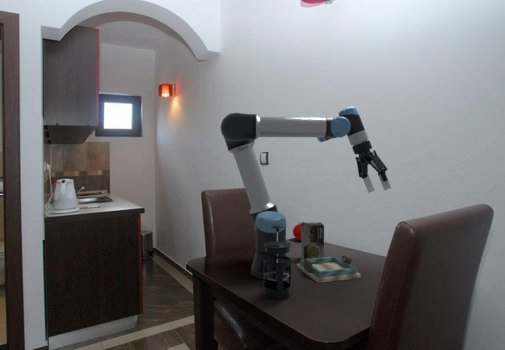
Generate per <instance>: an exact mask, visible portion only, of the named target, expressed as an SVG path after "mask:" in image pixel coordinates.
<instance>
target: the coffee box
mask: <svg viewBox="0 0 505 350" xmlns="http://www.w3.org/2000/svg"><path fill="white" fill-rule="evenodd" d="M300 223H301V241H300V243H301V244H300V245H301V247H300V248H301V253H300V254H301V255H300V257H301V258H300V259H301V260H302V259H313V258H324V257H325V224H324V223H322V222H304V223H302V222H300Z"/></svg>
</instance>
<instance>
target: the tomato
mask: <svg viewBox="0 0 505 350" xmlns="http://www.w3.org/2000/svg"><path fill="white" fill-rule="evenodd" d="M301 223H305V222H304V221H302V222H297V224H295V226H294V227H293V229H292V234H293V237H294V238H295V239H296V240H297V241H300V242H301Z"/></svg>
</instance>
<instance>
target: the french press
mask: <svg viewBox="0 0 505 350" xmlns="http://www.w3.org/2000/svg"><path fill="white" fill-rule="evenodd" d="M271 227H272V228H276V232H277V241H269V242H266V243H264V246H265V251H266V252H267V253H271V254H277V255H270V256H266V257H264V280H263V289H262V290H263V291H262V296H263V295H264V296H263V297H264V298H265V299H267V300H271V299H273V300H272V301H285V300H288V299H290V298H291V296H292V292H291V289H292V288H291V285H292V284H291V277H292V259H291V257H289V256H287V255H286V256H283V255H278V254H285V253H286V254H288V253H290V250H291V249H290V248H291V247H292V244H291V243H290V242H287V241H286V242H283V241H278V232H279V229H280V228H284V227H283V226H281V225H274V226H271ZM270 259H273V263H272V262H268V261H266V260H270ZM278 259H283V260H287V261H288V262H284V263H278ZM265 265H267V266H271V267H273V268H272V272H268V273H266V274H265ZM285 266H289V274H288V273H285V272H283V267H285ZM265 278H266V279H267V280H265Z"/></svg>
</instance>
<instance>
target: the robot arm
mask: <svg viewBox="0 0 505 350" xmlns="http://www.w3.org/2000/svg"><path fill="white" fill-rule="evenodd" d="M220 132H221V135H222V137H223V139H224V142H225V144H226V147H227V150H228V152H229V153H232V155H233V158H234V159H235V163H236V166H237V168H238V171H239V174H240V177H241V181H242V183H243V187H244V189H245V192H246V195H247V197H248V201H249V203H250V206H251V208H250V210H249V215H250V217H251V222H252V224H253V227H254V231H255V255H254V258H253V261H252V264H251V266H250V275H251V276H253V277H254V278H256V279H259V280H263V281H264V257H266V256H270V255H277V254H271V253H267V252H266V251H265V246H264V243H266V242H269V241H277V232H276V228H272V227H271V226H274V225H281V226H283V227H284V228H280V229H279V232H278V241H283V242H287V223H288V222H287V217H286V215H285V214H283V213H282V212H280V211H278V208H277V204H276V203H275V202H273V201H272V200H271V198H270V194H269V192H268V189H267V188H268V187H267V186H266V183H265V180H264V177H263V174H262V171H261V168H260V165H259V162H258V159H257V156H256V153H255V150H254V145H255V142H256V141H257V140H258V139H259V138H316V139H317V140H318V141H319V142H320V143H323V142H327V141H329V140H332V139H337V138H344V137H345V136H347V139H348V141H349V143H350V146H352V147H351V149H352V151H353V154H354V155H357V156H355V161H356V165H357V172H358V178H360V179H363V183H364V185H365V187H366V189H367V190H366V191H367V193H369V194H370V193H373V192H375V188H374V185H373V183H372V180H371V177H370V175H369V173H368V171H369V168H368V167H369V166H371V167H372V168H373V170H375V171H376V172H377V176H378V178H379V181H380V184H381V186H382V188H383V191H387V190H390V189H391V188H392V187H391V184H390V181H389V179H388V177H387V174H386V171H388V167H387V166H386V165H385V164H384V162H383V161H382V159H381V158H380V156H379V155H378V154H377V151H376V150H375V149H373V146H372V144H371V142H370V140H369V136H368V133H367V131H366V129H365V126H364V124H363V121H362V118H361V116H360V114H359V111H358V110H357V108H356V107H355V106H349V107H347V108H345V109H342V110H340V111H339V112H338V116H336V117H303V116H301V117H300V116H299V117H294V116H291V117H290V116H287V117H286V116H264V117H263V116H259V115H258V114H253V113H242V112H241V113H240V112H233V113H232V112H231V113H229V114H227V115H226V116H225V117H224V118H223V119H222V120H221V123H220ZM255 140H256V141H255ZM371 149H372V150H371ZM368 165H369V166H368ZM278 255H283V256H287V253H285V254H278ZM266 261H268V262H272V263H273V259H270V260H266ZM284 262H288V261H287V260H283V259H278V263H284ZM272 268H273V267H271V266H267V265H265V274H266V273H268V272H272ZM283 272H285V273H288V274H289V266H285V267H283ZM265 281H268V280H267V279H266V278H265Z"/></svg>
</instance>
